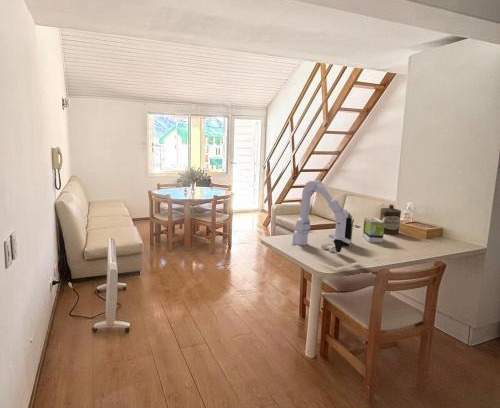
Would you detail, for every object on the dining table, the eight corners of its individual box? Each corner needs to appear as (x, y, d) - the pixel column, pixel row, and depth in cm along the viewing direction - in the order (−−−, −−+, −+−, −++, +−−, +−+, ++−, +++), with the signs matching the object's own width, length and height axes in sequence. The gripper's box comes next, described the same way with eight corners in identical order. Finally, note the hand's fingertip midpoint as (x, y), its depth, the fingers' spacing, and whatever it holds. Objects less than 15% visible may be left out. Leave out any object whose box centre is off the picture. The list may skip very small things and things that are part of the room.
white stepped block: (326, 250, 215) (327, 245, 214) (329, 249, 216) (329, 245, 216) (331, 252, 212) (331, 247, 211) (333, 251, 213) (334, 246, 213)
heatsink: (317, 249, 219) (317, 245, 219) (331, 246, 227) (331, 242, 226) (330, 254, 211) (331, 250, 210) (344, 251, 218) (345, 246, 218)
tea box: (383, 242, 242) (385, 222, 239) (368, 242, 242) (370, 221, 239) (375, 237, 256) (377, 217, 254) (362, 236, 256) (364, 216, 254)
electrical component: (351, 248, 225) (354, 218, 221) (335, 247, 227) (338, 217, 223) (349, 241, 242) (352, 213, 238) (334, 240, 244) (337, 212, 240)
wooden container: (381, 234, 264) (385, 206, 261) (375, 229, 279) (378, 202, 275) (401, 235, 264) (405, 207, 260) (394, 230, 279) (397, 203, 275)
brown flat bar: (322, 248, 218) (322, 246, 217) (333, 246, 224) (333, 244, 224) (326, 250, 215) (326, 248, 215) (337, 247, 221) (337, 245, 221)
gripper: (326, 228, 210) (324, 249, 212) (345, 233, 199) (343, 256, 201) (334, 226, 214) (332, 247, 217) (353, 232, 203) (351, 254, 205)
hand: (338, 251), depth 209 cm, fingers closed
